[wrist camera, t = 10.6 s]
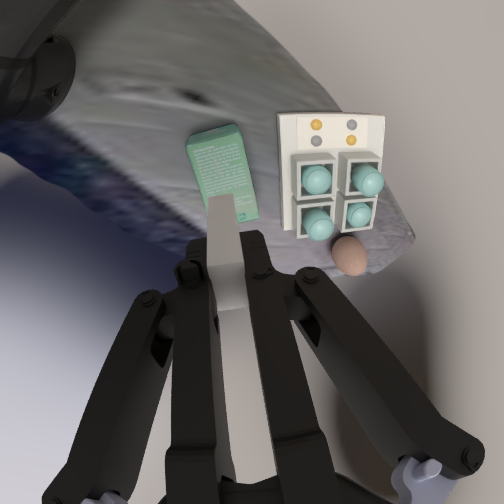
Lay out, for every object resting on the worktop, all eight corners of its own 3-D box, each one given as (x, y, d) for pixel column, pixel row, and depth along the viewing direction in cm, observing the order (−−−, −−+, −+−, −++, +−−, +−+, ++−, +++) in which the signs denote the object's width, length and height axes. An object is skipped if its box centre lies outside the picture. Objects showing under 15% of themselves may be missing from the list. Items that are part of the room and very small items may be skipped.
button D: (343, 198, 44) (350, 206, 41) (365, 196, 44) (373, 204, 41) (341, 220, 46) (348, 229, 44) (362, 217, 47) (370, 226, 44)
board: (276, 113, 37) (285, 118, 33) (378, 114, 38) (396, 120, 34) (281, 224, 49) (288, 241, 45) (369, 214, 50) (382, 229, 46)
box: (236, 120, 37) (240, 129, 31) (255, 197, 45) (261, 219, 39) (189, 133, 37) (183, 145, 31) (212, 208, 46) (212, 231, 40)
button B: (302, 208, 42) (308, 219, 39) (328, 206, 42) (335, 215, 39) (301, 232, 44) (307, 243, 42) (326, 229, 45) (333, 239, 42)
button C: (351, 163, 38) (361, 171, 35) (375, 163, 38) (386, 170, 36) (349, 189, 40) (358, 198, 38) (373, 187, 41) (382, 196, 38)
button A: (297, 161, 39) (304, 168, 37) (325, 160, 39) (332, 166, 37) (298, 188, 42) (304, 196, 39) (324, 185, 42) (331, 193, 40)
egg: (329, 228, 51) (347, 257, 44) (358, 228, 52) (379, 255, 44) (323, 256, 55) (339, 286, 48) (351, 254, 56) (369, 283, 48)
